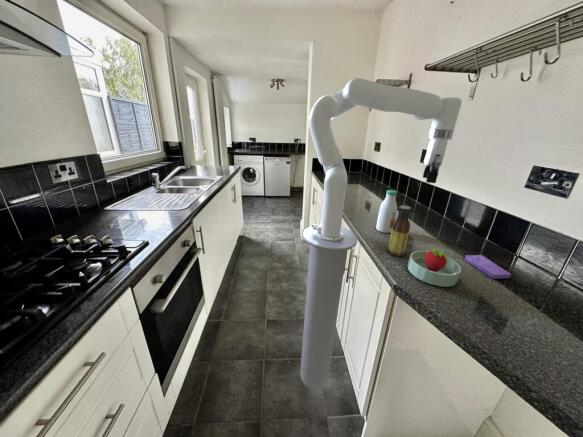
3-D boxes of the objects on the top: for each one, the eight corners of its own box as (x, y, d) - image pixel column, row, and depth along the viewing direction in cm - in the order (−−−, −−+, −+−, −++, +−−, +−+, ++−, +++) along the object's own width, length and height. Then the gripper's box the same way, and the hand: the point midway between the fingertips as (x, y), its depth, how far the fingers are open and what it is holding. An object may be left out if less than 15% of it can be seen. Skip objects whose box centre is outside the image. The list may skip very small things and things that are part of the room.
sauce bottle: (398, 248, 97) (408, 204, 90) (407, 256, 92) (419, 209, 84) (383, 249, 96) (393, 204, 89) (392, 257, 91) (403, 209, 83)
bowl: (409, 280, 77) (412, 268, 75) (405, 258, 90) (408, 247, 88) (462, 293, 72) (467, 280, 70) (450, 267, 85) (454, 256, 83)
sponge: (480, 259, 92) (481, 254, 91) (510, 278, 80) (512, 274, 80) (463, 259, 91) (465, 255, 91) (491, 278, 80) (493, 274, 79)
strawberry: (432, 266, 85) (440, 242, 81) (446, 279, 78) (455, 253, 74) (417, 266, 84) (424, 242, 80) (429, 279, 77) (438, 253, 73)
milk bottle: (383, 234, 110) (392, 193, 103) (372, 228, 117) (379, 189, 109) (395, 232, 113) (404, 192, 106) (384, 226, 120) (391, 188, 112)
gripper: (426, 134, 95) (416, 175, 101) (433, 134, 80) (420, 183, 86) (446, 135, 92) (435, 177, 99) (458, 136, 77) (443, 185, 84)
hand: (428, 180), depth 93 cm, fingers open, 9 cm apart
